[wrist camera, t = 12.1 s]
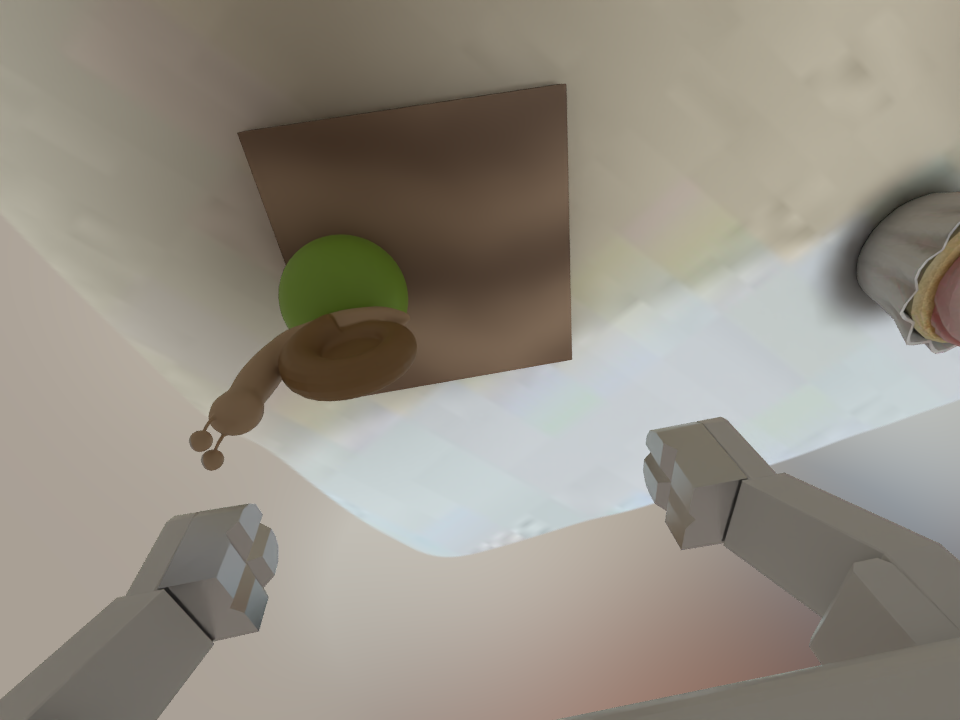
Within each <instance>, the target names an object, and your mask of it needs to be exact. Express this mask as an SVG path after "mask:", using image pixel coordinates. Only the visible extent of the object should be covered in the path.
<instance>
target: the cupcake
mask: <svg viewBox="0 0 960 720" xmlns="http://www.w3.org/2000/svg"><path fill="white" fill-rule="evenodd" d="M856 271H857V281H858V283H859V285H860V286H861V288H862V290H863V291H864V292H865V293H866V294H867V295H868V296H869V297H870V298H872V299H873V300H874V301H875V302H876V303H877V304H879V305H880V306H881V307H882V308H883V309H884V310H885V311H886V312H887V313H888V314H889V315H890V316H891V317H892V318H893V319H894V321H895V323H896V325H897V327H898V329H899V331H900V333H901V335H902V337H903V338H904V340H905V342H906V344H907V345H918V344H925V345H926V346H927V347H928V348H929V349H930V350H931V352H933V353H935V354H937V353H943V352H946V351H948V350H950V349H952V348H954V347H956V346H959V347H960V192H944V193H932V194H929V195H925V196H922V197H919V198H916V199H914V200H911V201H909V202H907V203H905V204H903V205H902V206H900V207H898V208H897V209H895V210H894V211H893V212H892V213H890V214H889V215H888V216H887V217H886V218H885V219H884V220H883V221H882V222H881V223H880V224H879V225H878V226H877V227H876V228H875V229H874V230H873V231H872V233H871V234H870V236H869V237H868V239H867V241H866V242H865V244H864V246H863V248H862V250H861V252H860V255H859V257H858V262H857V269H856Z"/></svg>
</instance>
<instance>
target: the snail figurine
mask: <svg viewBox="0 0 960 720" xmlns="http://www.w3.org/2000/svg"><path fill="white" fill-rule="evenodd" d="M279 306H280V310H281V314H282V316H283V319H284V321H285V323H286V325H287V327H288V328H289V329H288V330H286V331H285V332H283V333H281V334H280V335H278V336H277V337H276V338H274V339H273V340H272V341H271V342H269V343H268V344H267V345H265V346H264V347H263V348H262V349H261V350H260V351H259V352H258V353H257V354H256V355H254V356H253V357H252V358H251V359H250V361H249V362H248V363H247V364H246V365H245V366H244V367H243V369H242V370H241V371H240V373H239V374H238V375H237V377H236V378H235V380H234V382H233V384H232V386H231V387H230V389H229V390H228V391H227V392H225V393H224V394H222V395H221V396H220V397H218V398H217V399H216V400H215V401H214V403H213V404H212V406H211V409H210V412H209V421H208V422H207V424H206V425H205V427H204V429H203V431H196V432H194V433H193V434H192V435H191V436H190V439H189V443H190V446H191V448H192V449H193V450H195V451H197V452H202V451H205V450H207V449H209V448H210V447H211V445H212V443H213V438H212V436H211V434H210V433H209V432H207V431H206V430H207V427H208V426H209V424H211V426H212V427H213V428H214V429H215V430H216V431H218V432H220V433H221V434H222V435H221V437H220V438H219V440H218V442H217V444H216V446H215V448H214V450H209V451H207V452H205V453H204V454H203V455H202V458H201V462H202V465H203V466H204V468H205V469H207V470H211V471H212V470H216V469H218V468H220V467H221V465H222V464H223V462H224V456H223V454H222V453H221V452H220V451H218V450H217V448H218V446H219V444H220V443H221V441H222V440H223V438H224V437H225V436H227V435H231V436H235V435H241V434H244V433H247V432H249V431H250V430H252V429H253V428H254V427H256V426H257V425H258V423H259V422H260V421H261V419H262V417H263V413H264V403H265V402H266V400H267V399H268V398H269V397H270V395H271V394H272V393H273V392H274V390H275V389H276V388H277V386H278V385H279V383H280V382H281V380H283V382H284V383H285V384H286V385H287V386H288V387H289V388H290V389H291V390H292V391H293V392H295V393H297V394H299V395H301V396H303V397H305V398H308V399H312V400H317V401H340V400H348V399H353V398H358V397H361V396H364V395H368V394H371V393H373V392H376V391H378V390H380V389H382V388H384V387H386V386H388V385H390V384H391V383H393V382H395V381H396V380H397V379H399V378H400V377H401V376H403V375H404V374H405V373H406V372H407V370H408V369H409V368H410V367H411V365H412V363H413V362H414V360H415V357H416V354H417V342H416V339H415V337H414V335H413V333H412V332H411V331H410V330H409V329H408V328H407V327H405V326H403V325H405V324H407V323H408V322H409V321H410V316H409V315H408V314H407V309H408V291H407V285H406V282H405V279H404V276H403V274H402V272H401V270H400V268H399V266H398V265H397V263H396V262H395V261H394V259H393V258H392V257H391V256H390V255H389V254H388V253H387V252H386V251H385V250H383V249H382V248H381V247H379V246H378V245H376V244H375V243H373V242H371V241H369V240H366V239H364V238H361V237H357V236H352V235H341V234H340V235H329V236H325V237H321V238H318V239H316V240H313V241H311V242H309V243H308V244H306V245H305V246H303V247H302V248H301V249H299V250H298V251H297V252H296V253H295V254H294V255H293V256H292V258H291V259H290V260H289V262H288V263H287V265H286V267H285V269H284V271H283V273H282V276H281V279H280V284H279Z"/></svg>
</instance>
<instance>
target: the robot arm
mask: <svg viewBox="0 0 960 720" xmlns="http://www.w3.org/2000/svg"><path fill="white" fill-rule="evenodd" d="M646 446H647V447H648V449H649V451H650V454H649V455H648V456H647V457H646V458H645V459H644V468H643V472H644V478H645V483H646V486H647V489H648V491H649V494H650V496H651V497H652V499H653V501H654V503H655V504H657V505H658V506H660V507H662V508H663V509H665V510H666V511H667V512H666V519H665V522H666V524H667V526H668V527H669V529H670V531H671V533H672V534H673V536H674V538H675V540H676V542H677V543H678V545H679V547H680V548H681V550H685V549H690V548H697V547H703V546H709V545H714V544H721V543H724V546H725V547H726V548H728V549H729V550H730V551H732V552H733V553H735V554H736V555H737V556H738V557H740V558H741V559H743V560H744V561H745V562H747V563H748V564H750V565H751V566H752V567H754V568H755V569H756V570H758V571H759V572H760V573H762V574H763V575H764V576H766V577H767V578H769V579H770V580H771V581H773V582H774V583H775V584H777V585H778V586H780V587H781V588H782V589H784V590H785V591H786V592H788V593H789V594H790V595H792V596H793V597H794V598H796V599H797V600H799V601H800V602H801V603H803V604H804V605H805V606H807V607H808V608H809V609H811V610H812V611H813V612H815V613H816V614H818V615H819V616H820V617H822V620H821V621H820V623H819V625H818V627H817V628H816V630H815V632H814V634H813V636H812V637H811V641H810V645H809V647H810V648H811V650H812V651H813V652H814V654H815V655H816V657H817V659H818V660H819V661H820V663H821V664H822V665H820V666H815V667H811V668H806V669H801V670H796V671H791V672H786V673H781V674H777V675H772V676H767V677H762V678H757V679H752V680H747V681H742V682H737V683H733V684H728V685H723V686H718V687H713V688H708V689H704V690H698V691H694V692H689V693H684V694H679V695H674V696H669V697H664V698H660V699H655V700H650V701H645V702H640V703H635V704H630V705H625V706H620V707H616V708H611V709H606V710H601V711H596V712H591V713H586V714H581V715H577V716H572V717H567V718H562V719H557V720H960V561H959V560H958V559H957V558H956V557H955V556H953V555H952V554H951V553H950V552H949V551H948V550H946V548H944V547H943V546H942V545H941V544H940V543H937V542H935V541H933V540H931V539H929V538H926V537H924V536H922V535H920V534H918V533H915V532H913V531H911V530H909V529H906V528H905V527H902V526H900V525H898V524H896V523H894V522H891V521H889V520H887V519H885V518H882V517H880V516H878V515H876V514H874V513H872V512H869V511H867V510H865V509H863V508H861V507H859V506H856V505H854V504H852V503H850V502H848V501H845V500H843V499H841V498H839V497H837V496H834V495H832V494H830V493H828V492H826V491H823V490H821V489H819V488H817V487H815V486H813V485H810V484H808V483H806V482H804V481H802V480H799V479H797V478H795V477H793V476H790V475H788V474H786V473H780V474H777V473H776V472H775V471H774V470H773V469H772V468H771V467H770V466H769V465H768V464H767V463H766V461H765V460H764V459H763V458H762V457H761V456H760V455H759V454H758V453H757V452H756V451H755V450H754V449H753V447H752V446H751V445H750V444H749V443H748V442H747V441H746V440H745V439H744V438H743V437H742V436H741V434H740V433H739V432H738V431H737V430H736V429H735V428H734V427H733V426H732V425H731V424H730V423H729V421H728V420H726V419H724V418H722V417H718V418H712V419H707V420H702V421H697V422H691V423H686V424H681V425H676V426H670V427H665V428H660V429H655V430H650V431H649V433H648V434H647V438H646ZM261 518H262V513H261V511H260V510H259V508H258V507H257V506H256V504H244V505H238V506H231V507H225V508H219V509H213V510H206V511H200V512H196V513H190V514H183V515H177V516H174V517H173V518H171V519H170V520H169V521H168V522H166V524H165V526H164V528H163V529H162V531H161V533H160V535H159V537H158V538H157V540H156V542H155V544H154V546H153V547H152V549H151V551H150V553H149V554H148V556H147V558H146V560H145V562H144V563H143V565H142V567H141V569H140V571H139V572H138V574H137V576H136V578H135V580H134V581H133V583H132V585H131V587H130V589H129V590H128V592H127V594H126V596H123V597H119V598H116V599H115V600H114V601H113V602H111V603H110V604H109V605H108V606H107V607H106V608H105V609H103V610H102V611H101V612H100V613H99V614H98V615H97V616H95V617H94V618H93V619H92V620H91V621H90V622H89V623H87V624H86V625H85V626H84V627H83V628H82V629H81V630H79V632H77V633H76V634H75V635H74V636H73V637H71V638H70V639H69V640H68V641H67V642H66V643H64V644H63V645H62V646H61V647H60V648H59V649H58V650H56V651H55V652H54V653H53V654H52V655H51V656H50V657H48V658H47V659H46V660H45V661H44V662H43V663H42V664H40V665H39V666H38V667H37V668H36V669H35V670H34V671H32V672H31V673H30V674H29V675H28V676H27V677H25V678H24V679H23V680H22V681H21V682H20V683H19V684H17V685H16V686H15V687H14V688H13V689H12V690H11V691H9V692H8V693H7V694H6V695H5V696H4V697H3V698H1V699H0V720H157V719H158V718H159V716H160V715H161V714H162V712H163V711H164V710H165V708H166V707H167V706H168V704H169V703H170V702H171V700H172V699H173V698H174V696H175V695H176V694H177V692H178V691H179V690H180V688H181V687H182V686H183V685H184V683H185V682H186V681H187V679H188V678H189V677H190V675H191V674H192V673H193V671H194V670H195V669H196V667H197V666H198V665H199V663H200V662H201V661H202V659H203V658H204V657H205V655H206V654H207V653H208V652H209V650H210V649H211V648H212V646H213V645H214V643H213V641H217V640H222V639H227V638H231V637H236V636H240V635H245V634H249V633H254V632H258V631H259V629H260V625H261V622H262V618H263V615H264V611H265V607H266V604H267V601H268V595H267V593H266V591H265V589H264V587H265V585H266V584H267V583H268V582H269V581H270V580H271V579H272V578H273V576H274V575H275V572H276V568H277V564H278V543H277V540H276V536H275V534H274V533H273V531H272V529H271V528H269V527H267V526H265V525H263V524H261V523H260V521H261Z"/></svg>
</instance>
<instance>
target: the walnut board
mask: <svg viewBox="0 0 960 720" xmlns="http://www.w3.org/2000/svg"><path fill="white" fill-rule="evenodd" d="M238 136H239V139H240V142H241V144H242V147H243V150H244V152H245V155H246V158H247V161H248V163H249V166H250V169H251V171H252V174H253V177H254V180H255V182H256V185H257V188H258V190H259V193H260V196H261V199H262V201H263V204H264V207H265V209H266V212H267V215H268V218H269V220H270V223H271V226H272V229H273V231H274V234H275V237H276V239H277V242H278V245H279V248H280V250H281V253H282V256H283V258H284V261H285V264H286V265H287V263H288V262H289V260H290V259H291V258H292V256H293V255H294V254H295V253H296V252H297V251H298V250H299V249H301V248H302V247H303V246H305V245H306V244H308V243H309V242H311V241H313V240H316V239H318V238H321V237H325V236H329V235H340V234H341V235H352V236H357V237H361V238H364V239H366V240H369V241H371V242H373V243H375V244H376V245H378V246H379V247H381V248H382V249H383V250H385V251H386V252H387V253H388V254H389V255H390V256H391V257H392V258H393V259H394V261H395V262H396V263H397V265H398V266H399V268H400V270H401V272H402V274H403V276H404V279H405V282H406V285H407V291H408V309H407V314H408V315H409V316H410V321H409V322H408V323H407V324H405V325H403V326H405V327H407V328H408V329H409V330H410V331H411V332H412V333H413V335H414V337H415V339H416V342H417V354H416V357H415V360H414V362H413V363H412V365H411V367H410V368H409V369H408V370H407V372H406V373H405V374H404V375H403V376H401V377H400V378H399V379H397V380H396V381H395V382H393V383H391V384H390V385H388V386H386V387H384V388H382V389H380V390H378V391H376V392H373V393H371V394H368V395H373V394H378V393H384V392H390V391H396V390H401V389H407V388H413V387H418V386H424V385H430V384H436V383H441V382H447V381H453V380H458V379H464V378H470V377H476V376H481V375H487V374H493V373H498V372H504V371H510V370H516V369H521V368H527V367H533V366H538V365H544V364H550V363H556V362H561V361H567V360H572V338H571V289H570V240H569V192H568V143H567V95H566V84H557V85H550V86H544V87H537V88H530V89H523V90H517V91H510V92H503V93H497V94H490V95H483V96H477V97H470V98H463V99H456V100H450V101H443V102H436V103H430V104H423V105H416V106H409V107H403V108H396V109H389V110H383V111H376V112H369V113H362V114H356V115H349V116H342V117H336V118H329V119H322V120H315V121H309V122H302V123H295V124H289V125H282V126H275V127H268V128H262V129H255V130H248V131H243V132H239V133H238ZM364 396H367V395H364Z"/></svg>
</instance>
